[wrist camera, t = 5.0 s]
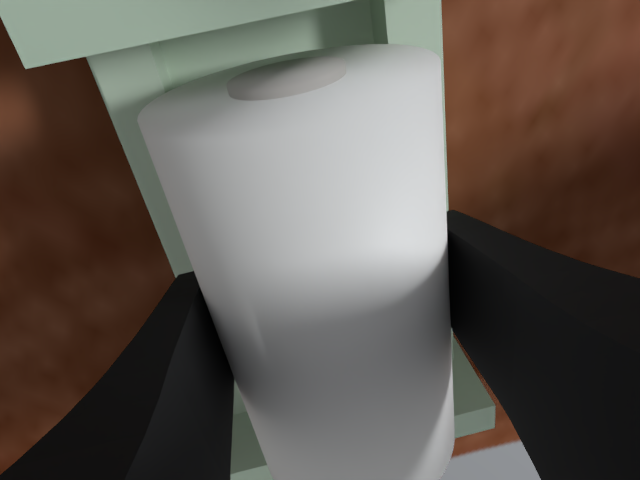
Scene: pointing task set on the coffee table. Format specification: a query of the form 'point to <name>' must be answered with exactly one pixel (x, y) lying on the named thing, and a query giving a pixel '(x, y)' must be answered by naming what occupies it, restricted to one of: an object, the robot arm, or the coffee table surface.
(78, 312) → the coffee table surface
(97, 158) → the coffee table surface
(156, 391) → the robot arm
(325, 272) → the roll
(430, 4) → the holder
